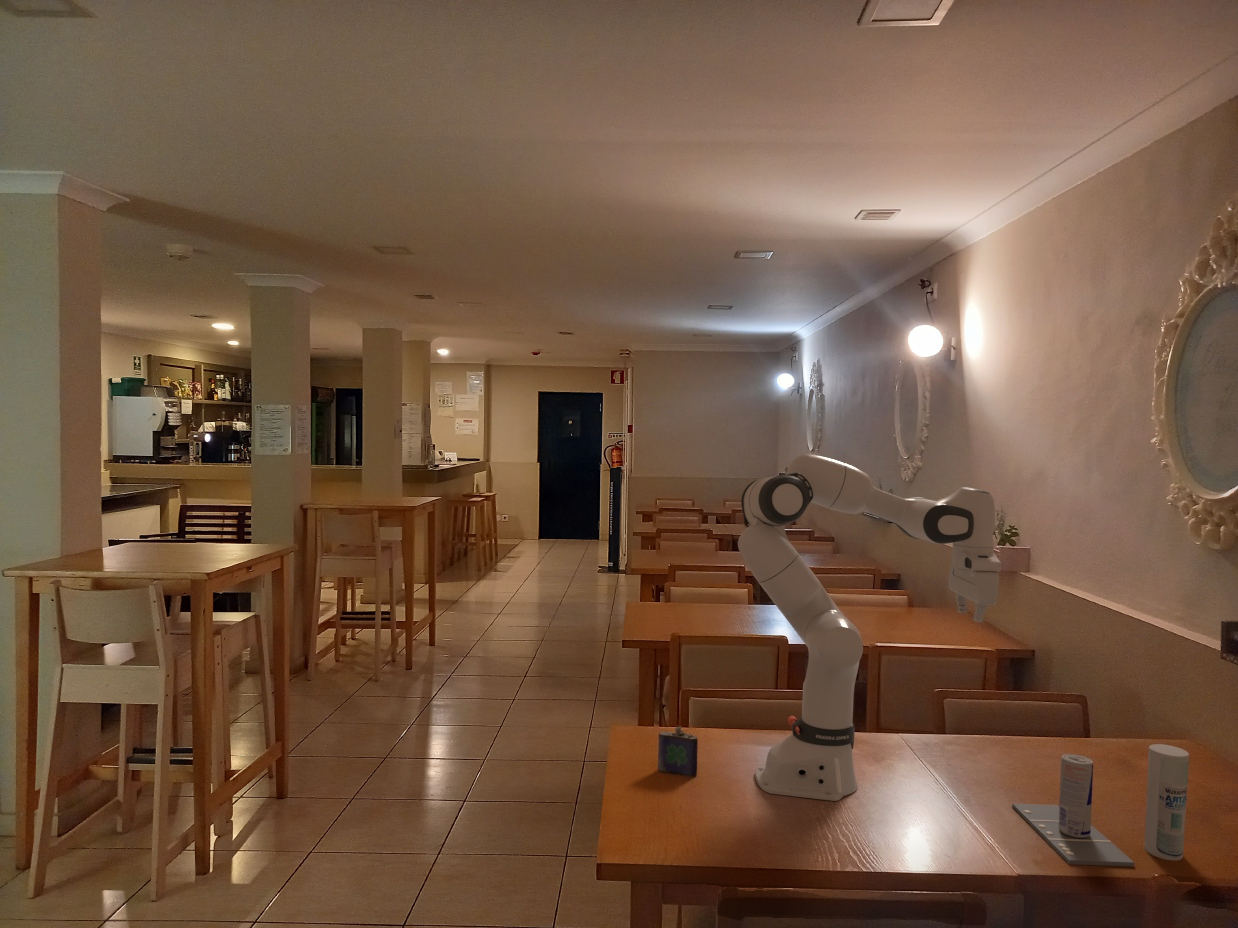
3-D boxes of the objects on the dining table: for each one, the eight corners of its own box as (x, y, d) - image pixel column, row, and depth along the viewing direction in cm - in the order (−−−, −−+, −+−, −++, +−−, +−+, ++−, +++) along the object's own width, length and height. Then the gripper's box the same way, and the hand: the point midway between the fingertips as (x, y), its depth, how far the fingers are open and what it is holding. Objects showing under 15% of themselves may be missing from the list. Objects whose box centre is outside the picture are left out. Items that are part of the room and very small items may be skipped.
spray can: (1166, 843, 168) (1171, 743, 167) (1192, 860, 161) (1197, 756, 160) (1135, 844, 167) (1141, 743, 166) (1160, 861, 160) (1166, 756, 160)
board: (1068, 863, 158) (1069, 859, 158) (1012, 806, 182) (1012, 802, 182) (1134, 866, 158) (1134, 861, 158) (1068, 808, 182) (1069, 804, 182)
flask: (656, 772, 196) (657, 726, 196) (659, 767, 199) (661, 722, 198) (695, 778, 193) (697, 731, 193) (698, 773, 196) (700, 727, 195)
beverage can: (1095, 840, 166) (1098, 764, 166) (1065, 838, 167) (1068, 762, 166) (1082, 827, 172) (1085, 753, 171) (1053, 825, 172) (1056, 752, 172)
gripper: (942, 551, 208) (940, 607, 208) (976, 564, 187) (973, 626, 188) (968, 551, 208) (966, 608, 208) (1005, 565, 187) (1002, 627, 188)
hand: (970, 617), depth 198 cm, fingers open, 8 cm apart
